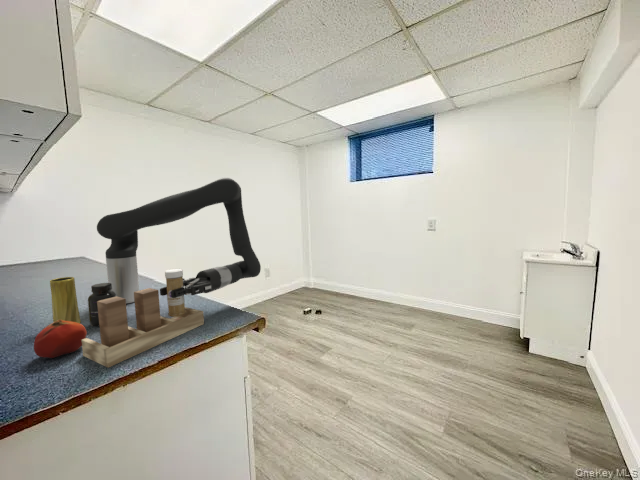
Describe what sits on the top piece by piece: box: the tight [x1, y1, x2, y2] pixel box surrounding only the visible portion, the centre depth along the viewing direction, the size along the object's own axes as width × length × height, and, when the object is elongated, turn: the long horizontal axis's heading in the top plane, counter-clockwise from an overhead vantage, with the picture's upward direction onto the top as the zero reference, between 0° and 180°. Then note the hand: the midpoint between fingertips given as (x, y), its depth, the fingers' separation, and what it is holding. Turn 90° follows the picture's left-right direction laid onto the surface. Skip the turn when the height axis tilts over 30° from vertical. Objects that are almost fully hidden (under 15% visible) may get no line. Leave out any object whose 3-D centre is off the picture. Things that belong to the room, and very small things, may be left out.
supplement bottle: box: [87, 282, 117, 327], centre depth 80 cm, size 7×7×12 cm
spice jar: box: [164, 268, 186, 318], centre depth 77 cm, size 5×5×14 cm
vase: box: [49, 276, 82, 324], centre depth 79 cm, size 6×6×14 cm
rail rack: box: [81, 287, 205, 368], centre depth 70 cm, size 11×25×13 cm, turn 154°
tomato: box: [33, 320, 88, 359], centre depth 63 cm, size 9×9×8 cm
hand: (166, 293), depth 75 cm, fingers closed on spice jar, 4 cm apart
